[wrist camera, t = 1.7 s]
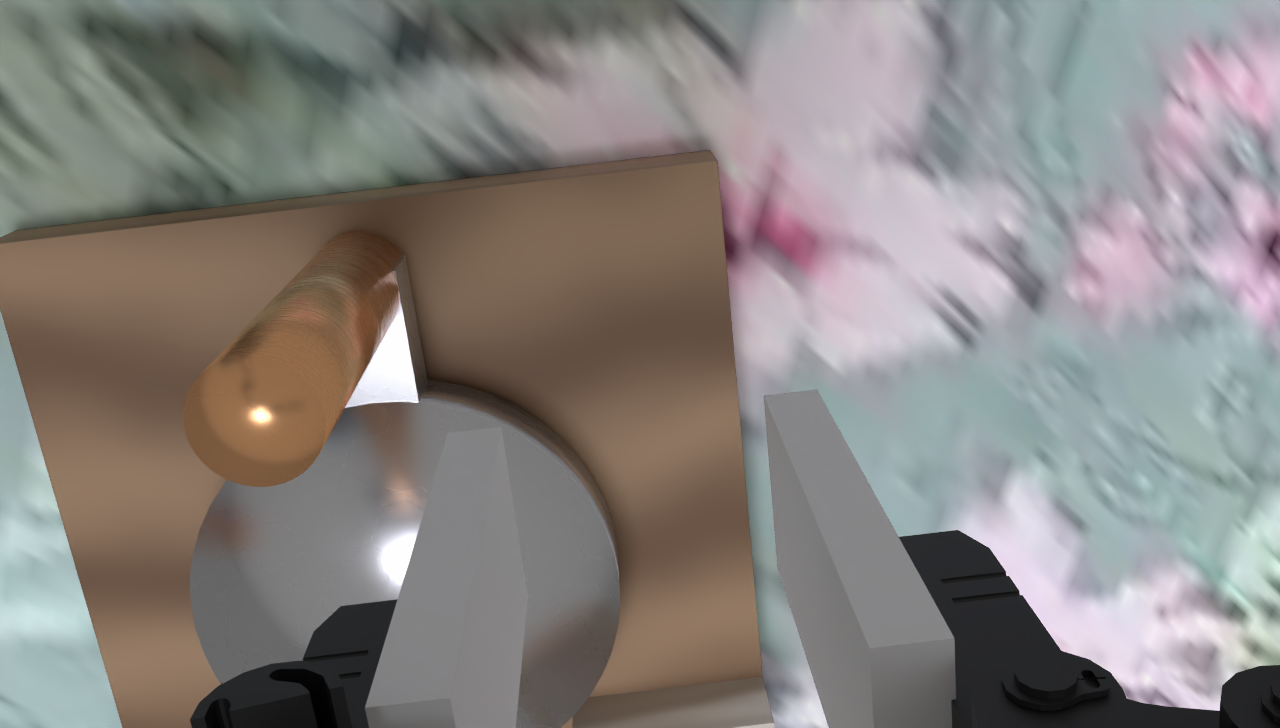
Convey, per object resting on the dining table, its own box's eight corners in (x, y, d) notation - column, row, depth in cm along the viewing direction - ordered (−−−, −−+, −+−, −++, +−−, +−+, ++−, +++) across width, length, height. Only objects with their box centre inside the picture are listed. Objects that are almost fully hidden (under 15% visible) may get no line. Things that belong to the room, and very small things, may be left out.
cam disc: (639, 716, 37) (659, 1007, 27) (259, 761, 37) (130, 1071, 27) (573, 205, 32) (567, 317, 21) (132, 256, 32) (-90, 394, 21)
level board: (15, 230, 34) (-65, 266, 30) (709, 150, 34) (727, 175, 30) (191, 854, 41) (146, 954, 37) (766, 785, 41) (786, 877, 37)
